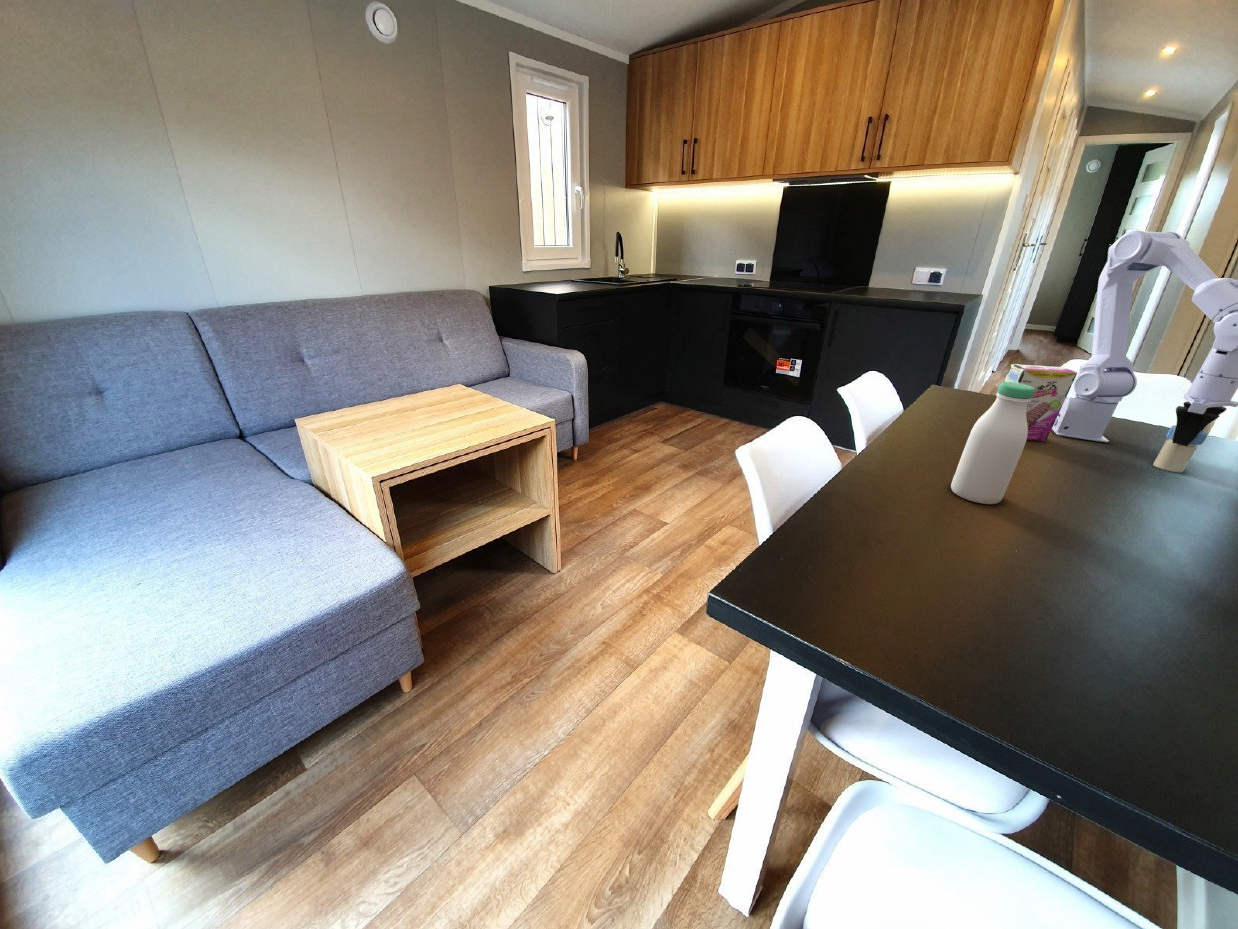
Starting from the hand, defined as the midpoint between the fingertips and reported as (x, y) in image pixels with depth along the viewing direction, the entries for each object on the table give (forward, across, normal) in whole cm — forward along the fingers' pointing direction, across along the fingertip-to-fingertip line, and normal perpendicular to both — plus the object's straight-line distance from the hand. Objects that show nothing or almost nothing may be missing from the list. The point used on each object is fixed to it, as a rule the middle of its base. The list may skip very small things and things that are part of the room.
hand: (1182, 441), depth 98 cm
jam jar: (+6, 0, 0) cm, 6 cm away
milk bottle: (+6, -49, +16) cm, 52 cm away
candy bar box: (+6, -8, +24) cm, 26 cm away
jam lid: (-2, 0, 0) cm, 2 cm away
